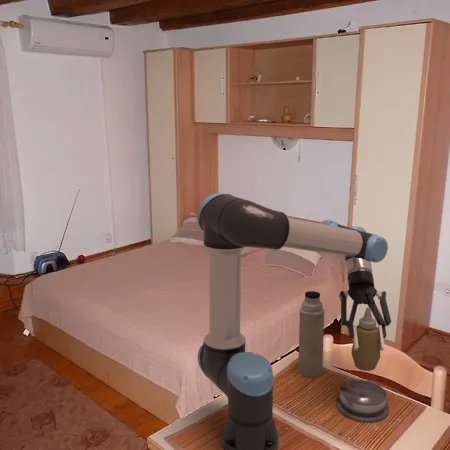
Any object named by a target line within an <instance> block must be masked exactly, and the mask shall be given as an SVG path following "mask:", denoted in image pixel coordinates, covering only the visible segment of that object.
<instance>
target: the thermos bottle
mask: <svg viewBox="0 0 450 450" xmlns="http://www.w3.org/2000/svg"><path fill="white" fill-rule="evenodd" d="M320 297H321V293H320V292H318V291H314V290H310V291H309V290H308V291H306V292H305V293H304V300H303V301H302V302H301V307H299V326H298V327H299V328H298V329H299V330H298V331H299V333H298V368H297V369H298V374H300V375H301V376H304V377H308V378H317V377H319V376H321V375H322V374H323V364H324V360H323V359H324V358H323V357H324V335H325V334H324V333H325V332H324V331H325V309H324V307H323V306H324V304H323V302H322V301H321V298H320Z"/></svg>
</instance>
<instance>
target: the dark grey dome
mask: <svg viewBox="0 0 450 450" xmlns="http://www.w3.org/2000/svg"><path fill="white" fill-rule="evenodd" d="M386 400H387V393H386V391H385V389H384V388H383V387H382V386H380V385H379V384H377V383H375V382H373V381H368V380H364V379H363V380H362V379H351V380H349V381H345V382H344V383H343V384H341V386H340V389H339V395H338V396H337V397H336V401H335V402H336V403H335V404H336V405H335V406H336V408H337V410H338V412H339V413H340V414H342V416H345V417H346V418H347V419H349V420H352V421H354V422H359V423H367V424H371V423H378V422H380V421H383V420H385V419H386V418H387V417H388V416H389V413H390V408H389V404H388V402H387V401H386Z"/></svg>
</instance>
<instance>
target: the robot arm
mask: <svg viewBox="0 0 450 450" xmlns="http://www.w3.org/2000/svg"><path fill="white" fill-rule="evenodd" d="M196 222H197V225H198V226H199V228H200V229H201V230H202V231H203V246H204V247H205V248H206V249H207V250H208V251H209V255H208V256H209V260H208V261H209V267H208V268H209V271H208V272H209V274H208V275H209V276H208V277H209V284H208V285H209V288H208V289H209V297H208V298H209V303H208V304H209V307H208V308H209V309H208V310H209V311H208V312H209V314H208V315H209V316H208V317H209V327H208V328H209V331H208V333H207V334H205V336H204V338H203V342H202V345H200V347H198V348H199V349H198V352H197V363H198V366H199V368H200V370H201V371H202V373H203V374H204V376H205V377H206V378H208V379H209V380H210V381H211V382H212V384H214V385H215V387H217V388H218V389H219V390H220V392H222V393H223V394H224V395H225V396H226V397H227V406H228V408H227V411H228V412H227V413H228V415H227V418H226V421H225V424H224V427H223V430H222V432H221V433H222V434H221V435H222V436H221V445H222V448H223V449H224V450H278V449H279V447H280V446H279V445H280V435H279V430H278V428H277V425H276V422H275V419H274V416H273V410H274V405H273V403H274V401H273V400H274V397H273V395H274V382H275V381H274V372H273V367H272V364H271V362H270V361H269V360H268V359H267V358H266V357H264V356H262V355H261V354H259V353H255V354H254V352H251V351H246V337H245V335H244V334H243V333H241V300H242V299H241V297H242V296H241V293H242V291H241V289H242V288H241V287H242V283H241V281H242V252H243V250H244V249H246V248H255V249H265V250H266V249H267V250H275V251H278V250H281V249H282V248H289V249H295V250H301V251H302V250H303V251H310V252H315V253H316V252H317V253H322V254H329V255H336V256H344V259H345V267H346V268H345V269H346V275H347V285H348V286H347V287H348V289H347V290H346V291H344V290H341V291H339V295H338V297H339V300H340V324H341V326H345V327H347V331H348V337H349V338H350V339H352V345H353V344H354V350H357V349H358V348H359V346H358V338H357V329H356V326H357V325H356V324H354V321H355V318H356V314H357V310H358V305H362V304H363V305H367V308H370V309H371V314H372V316H373V317H374V320H376V324H377V326H376V327H377V328H378V329H379V348H380V352H382V351H384V349H385V348H386V346H385V340H384V339H386V338H387V330H386V329H387V328H386V327H389V325H390V324H391V323H392V318H391V315H390V314H391V313H390V311H389V307H388V306H389V305H388V303H387V298H386V297H387V292H386V291H385V290H383V291H378V290H377V289H376V287H375V281H374V275H373V268H372V263H380V262H382V261H383V260H384V259H385V258H386V256H387V255H388V249H389V244H388V242H387V240H386V238H385V237H382V235H381V236H380V235H378V234H374V233H370V232H367V230H366V229H365V228H363V227H361V226H355V225H353V226H346V225H343V224H339V223H338V222H337V221H334V220H332V219H325V220H322V221H320V222H314V221H308V220H304V219H300V218H299V219H298V218H292V217H290V216H289V217H288V214H287V213H285V212H283V211H278V210H274V209H272V208H268V207H266V206H263V205H260V204H258V203H256V202H254V201H251V200H250V199H249V200H248V199H245V198H241V197H238V196H234V195H232V194H230V193H223V192H222V193H213V194H211V195H208V196H207V197H206V198H205V199H203V201H202V202H201V203H200V205H199V206H198V209H197V211H196ZM348 296H349V297H350V298H351V300H352V301H353V302H352V306H351V311H350V313H349V318H348V319H347V316H348V315H347V312H348V311H347V300H348ZM375 297H377V299H378V300H379V305H380V309H381V311H380V310H379V308H378V306H377V304H376V301H375V299H374V298H375ZM381 313H382V314H381Z"/></svg>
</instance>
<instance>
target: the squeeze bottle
mask: <svg viewBox="0 0 450 450" xmlns="http://www.w3.org/2000/svg"><path fill="white" fill-rule="evenodd" d="M377 327H378V326H377V321H376V319H375V318H373V314H372V311H371V309H370V308H369V307H366V309H365V311H364V315H363V317H361V318H359V319H358V325H356V329H357V338H358V346H359V348H358V349H357V350H354V344H353V343H352V345H351V346H352V347H351V352H350V353H351V357H352V360H353V363H354V366H355V368H356V369H358V370H361V371H365V372H366V371H367V372H371V371H374V370H375V369H376V368H377V366H378V363H379V361H380V358H381V351H380V348H379V329H378V328H377Z"/></svg>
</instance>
